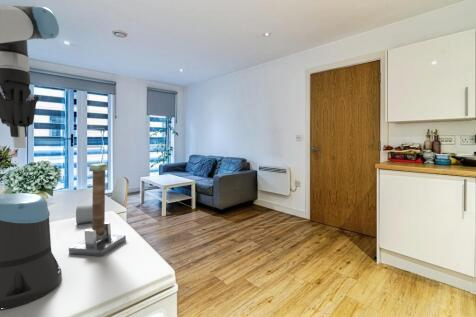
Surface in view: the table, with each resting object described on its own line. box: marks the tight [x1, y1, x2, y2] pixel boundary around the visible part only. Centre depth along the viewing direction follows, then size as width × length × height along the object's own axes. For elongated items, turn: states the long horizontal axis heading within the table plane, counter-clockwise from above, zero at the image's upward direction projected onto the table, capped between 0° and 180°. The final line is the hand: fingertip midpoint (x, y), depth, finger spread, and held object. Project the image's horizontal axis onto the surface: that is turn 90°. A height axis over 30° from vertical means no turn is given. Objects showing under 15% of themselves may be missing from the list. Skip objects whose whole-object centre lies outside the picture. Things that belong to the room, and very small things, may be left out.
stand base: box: [68, 222, 127, 257], centre depth 84 cm, size 12×12×7 cm
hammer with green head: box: [88, 162, 109, 241], centre depth 83 cm, size 5×4×26 cm
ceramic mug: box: [75, 204, 92, 225], centre depth 111 cm, size 11×8×8 cm
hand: (20, 147), depth 77 cm, fingers closed
